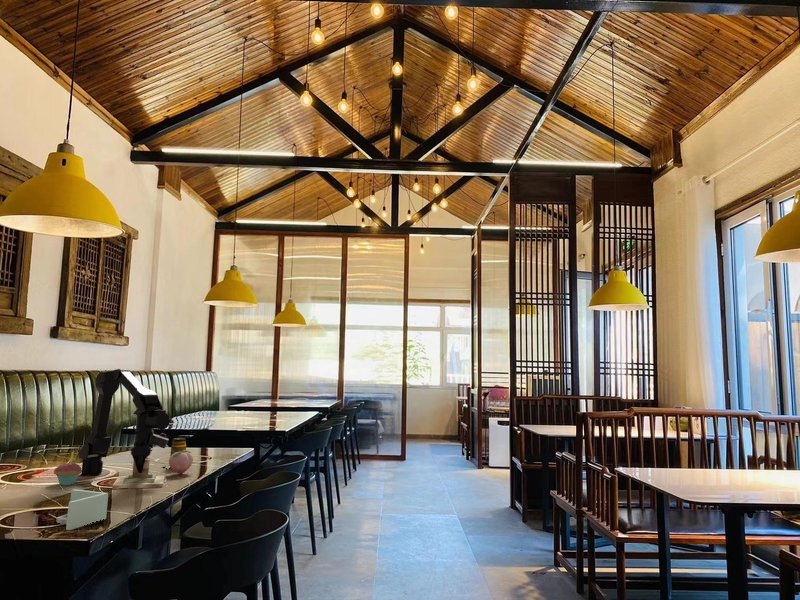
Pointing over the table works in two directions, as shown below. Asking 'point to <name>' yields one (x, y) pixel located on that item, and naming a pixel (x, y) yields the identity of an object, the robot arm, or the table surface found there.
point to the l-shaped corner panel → (84, 509)
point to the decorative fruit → (180, 461)
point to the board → (139, 482)
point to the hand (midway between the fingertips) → (140, 471)
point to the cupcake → (68, 472)
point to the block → (144, 472)
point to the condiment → (178, 445)
